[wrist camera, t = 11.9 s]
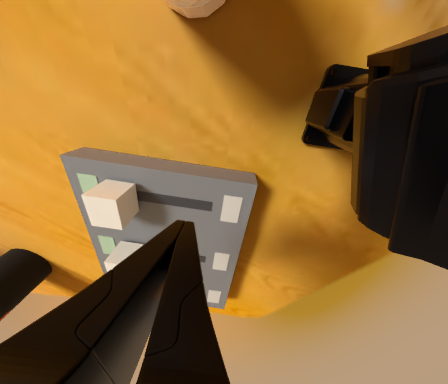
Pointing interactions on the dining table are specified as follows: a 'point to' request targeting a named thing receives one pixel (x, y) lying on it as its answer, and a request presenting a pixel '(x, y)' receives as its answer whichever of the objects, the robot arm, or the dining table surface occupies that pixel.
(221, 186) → the grey slider switch panel
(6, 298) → the wine bottle
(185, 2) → the white cup
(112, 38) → the dining table surface
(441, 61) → the robot arm
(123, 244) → the block
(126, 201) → the block
